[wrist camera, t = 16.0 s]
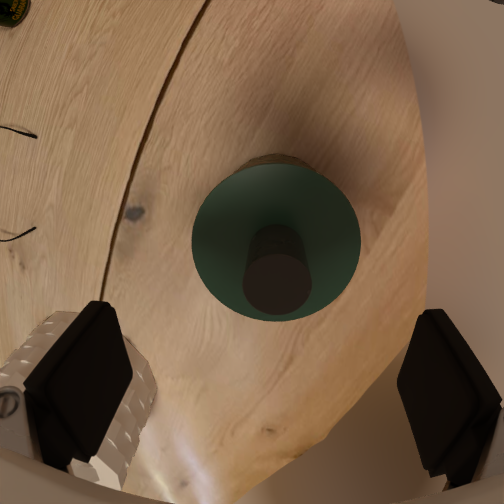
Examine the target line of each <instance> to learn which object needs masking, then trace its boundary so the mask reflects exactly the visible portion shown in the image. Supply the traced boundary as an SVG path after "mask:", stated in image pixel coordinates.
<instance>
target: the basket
mask: <svg viewBox="0 0 504 504" xmlns="http://www.w3.org/2000/svg"><path fill="white" fill-rule="evenodd" d="M79 314H80V313H72V312H60V311H56V312H55V313H54V314H53V315H52V316H51V317H49V318H48V319H47V320H46V321H45V322H44V323H42V324H41V325H38V326H37V327H36V328H35V329H34V330H33V331H32V332H31V333H30V334H29V336H28V338H27V340H26V342H25V343H24V344H23V345H22V346H21V347H20V348H19V349H15V350H14V352H13V353H12V354H11V355H10V356H9V357H8V358H7V360H6V361H5V362H4V366H3V367H2V368H0V388H1V387H3V386H15V387H17V388H19V389H20V390H21V391H22V392H24V391H25V389H26V388H25V386H24V385H23V382H24V381H25V380H26V378H27V377H28V376H29V374H30V373H31V372H32V370H33V369H34V368H35V367H36V365H37V364H38V363H39V362H40V360H41V359H42V358H43V357H44V355H45V354H46V353H47V352H48V350H49V349H50V348H51V347H52V345H53V344H54V343H55V342H56V341H57V339H58V338H59V337H60V336H61V335H62V333H63V332H64V331H65V330H66V329H67V328H68V326H69V325H70V324H71V323H72V322H73V321H74V319H75V318H76V317H77V316H78V315H79ZM122 336H123V335H122ZM123 340H124V343H125V347H126V350H127V353H128V356H129V360H130V363H131V366H132V369H133V377H132V381H131V383H130V385H129V387H128V389H127V391H126V393H125V395H124V397H123V399H122V401H121V403H120V405H119V407H118V409H117V411H116V414H115V416H114V418H113V420H112V422H111V424H110V426H109V428H108V431H107V433H106V435H105V437H104V439H103V442H102V444H101V446H100V448H99V450H98V453H97V454H96V455H95V456H94V457H91V459H90V461H89V463H88V464H87V463H84V462H82V461H79V460H76V459H74V458H73V459H72V461H71V466H72V469H73V472H74V475H75V476H76V477H79V478H82V479H85V480H87V481H90V482H93V483H96V484H99V485H102V486H105V487H108V488H112V489H115V490H118V491H122V488H123V485H124V482H125V479H126V476H127V470H126V469H127V468H128V466H130V463H131V460H132V457H134V456H135V453H136V450H137V447H138V444H139V442H140V440H139V435H140V433H141V431H142V428H143V427H145V425H146V422H147V419H148V417H149V414H150V406H151V403H152V401H153V399H154V396H155V394H156V391H157V386H156V383H155V380H154V378H153V375H152V372H151V369H150V366H149V363H148V361H147V360H146V359H145V358H144V357H143V356H142V355H141V354H140V353H139V352H138V351H137V350H136V349H135V348H134V347H133V346H132V345H131V344H130V343H129V342H128V341H127V339H126V338H125V337H124V336H123Z"/></svg>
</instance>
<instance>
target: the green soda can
mask: <svg viewBox="0 0 504 504" xmlns="http://www.w3.org/2000/svg"><path fill="white" fill-rule="evenodd" d="M29 6H30V1H29V0H0V26H4V27H12V26H15V25H17V24H19V23H20V22H21V21H22V20H23V19H24V17H25V16H26V14H27V12H28V10H29Z"/></svg>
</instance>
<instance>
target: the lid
mask: <svg viewBox="0 0 504 504" xmlns="http://www.w3.org/2000/svg"><path fill="white" fill-rule="evenodd" d="M360 249H361V236H360V228H359V224H358V220H357V217H356V215H355V212H354V210H353V208H352V206H351V204H350V202H349V201H348V199H347V198H346V197H345V195H344V194H343V193H342V192H341V191H340V190H339V189H338V188H337V187H336V186H335V185H334V184H333V183H332V182H331V181H330V180H328V179H327V178H326V177H324V176H323V175H321V174H319V173H317V172H315V171H313V170H311V169H308V168H306V167H303V166H299V165H295V164H291V163H280V162H275V163H263V164H258V165H253V166H250V167H247V168H244V169H242V170H240V171H238V172H236V173H234V174H232V175H230V176H229V177H227V178H226V179H224V180H223V181H222V182H221V183H220V184H218V185H217V186H216V187H215V188H214V189H213V190H212V191H211V193H210V194H209V195H208V196H207V197H206V199H205V200H204V202H203V204H202V205H201V207H200V209H199V211H198V214H197V216H196V219H195V222H194V226H193V231H192V253H193V259H194V263H195V266H196V269H197V271H198V273H199V276H200V278H201V279H202V281H203V283H204V284H205V286H206V287H207V288H208V290H209V291H210V292H211V293H212V294H213V295H214V296H215V297H216V298H217V299H218V300H219V301H220V302H221V303H223V304H224V305H225V306H227V307H228V308H230V309H232V310H233V311H235V312H237V313H239V314H242V315H244V316H247V317H250V318H253V319H258V320H263V321H274V322H275V321H289V320H295V319H299V318H303V317H306V316H308V315H311V314H313V313H315V312H317V311H319V310H321V309H323V308H324V307H326V306H327V305H329V304H330V303H331V302H332V301H333V300H335V299H336V298H337V297H338V296H339V295H340V294H341V293H342V291H343V290H344V289H345V288H346V286H347V285H348V283H349V282H350V280H351V278H352V276H353V274H354V272H355V270H356V267H357V264H358V261H359V256H360Z"/></svg>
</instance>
